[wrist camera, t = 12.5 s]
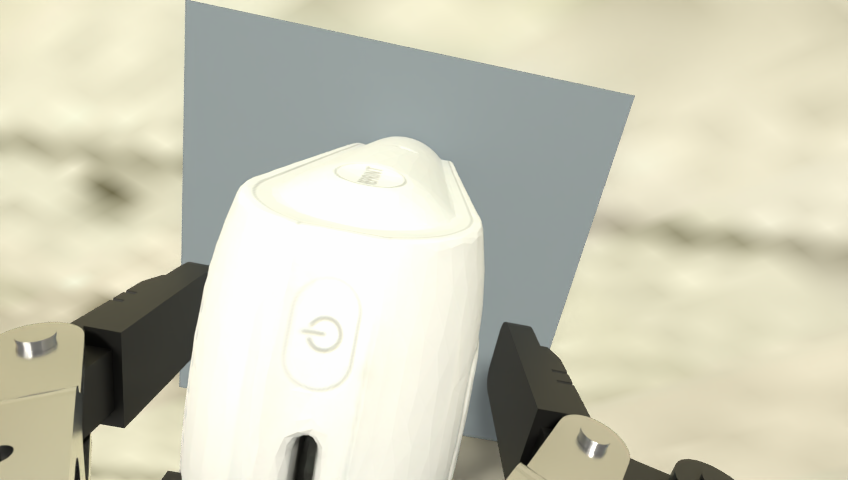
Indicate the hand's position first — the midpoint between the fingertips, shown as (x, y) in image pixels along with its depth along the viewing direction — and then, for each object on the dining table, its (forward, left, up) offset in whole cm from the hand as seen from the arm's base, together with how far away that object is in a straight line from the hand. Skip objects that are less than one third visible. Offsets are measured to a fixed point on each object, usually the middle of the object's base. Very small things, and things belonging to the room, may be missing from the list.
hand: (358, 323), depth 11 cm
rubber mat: (0, 0, -6) cm, 6 cm away
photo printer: (0, 0, -6) cm, 6 cm away
